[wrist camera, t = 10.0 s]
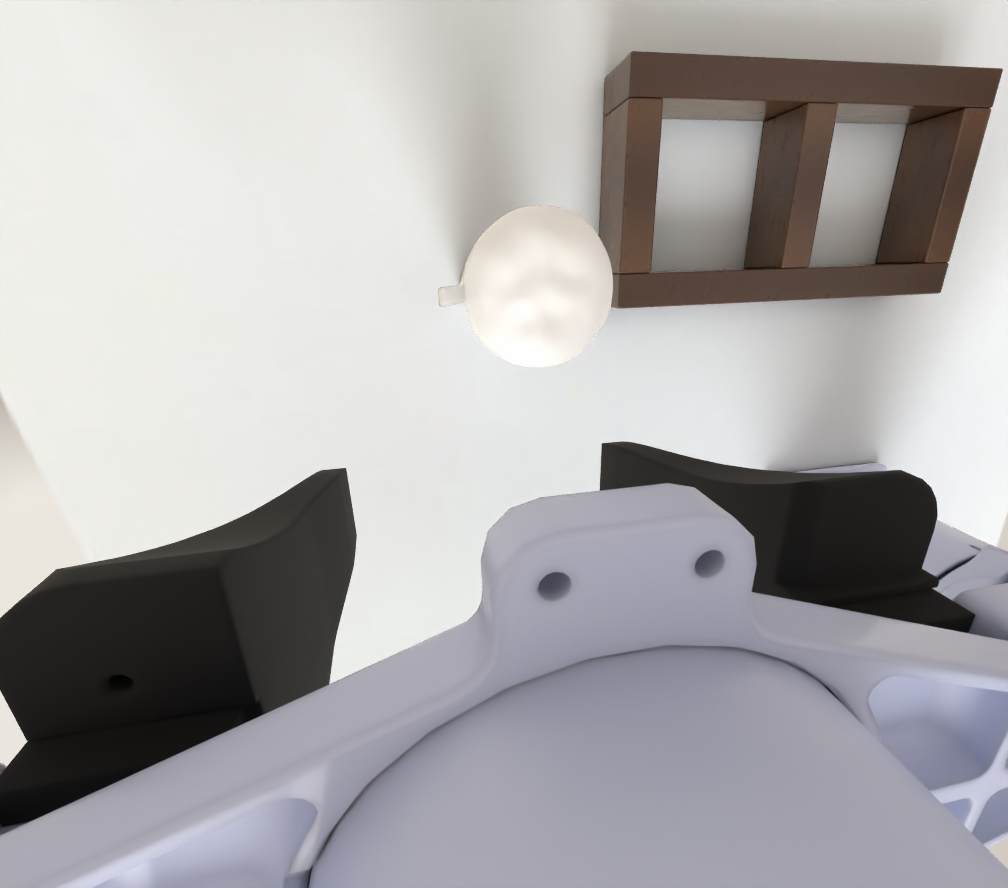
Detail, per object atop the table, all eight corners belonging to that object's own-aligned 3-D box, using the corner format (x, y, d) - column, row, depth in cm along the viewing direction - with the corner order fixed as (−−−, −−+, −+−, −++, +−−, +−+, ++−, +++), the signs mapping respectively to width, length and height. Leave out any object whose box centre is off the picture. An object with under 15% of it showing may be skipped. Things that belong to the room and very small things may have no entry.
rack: (890, 291, 25) (941, 293, 23) (596, 304, 23) (618, 308, 20) (939, 90, 22) (1004, 67, 20) (604, 77, 19) (631, 50, 17)
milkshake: (422, 229, 20) (432, 193, 11) (544, 229, 21) (649, 196, 12) (429, 338, 22) (444, 386, 12) (542, 333, 23) (634, 376, 13)
